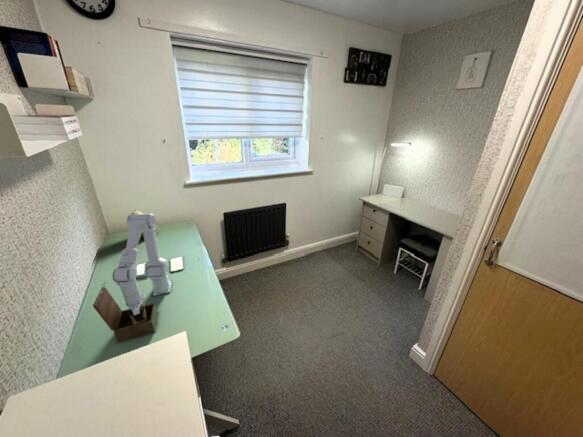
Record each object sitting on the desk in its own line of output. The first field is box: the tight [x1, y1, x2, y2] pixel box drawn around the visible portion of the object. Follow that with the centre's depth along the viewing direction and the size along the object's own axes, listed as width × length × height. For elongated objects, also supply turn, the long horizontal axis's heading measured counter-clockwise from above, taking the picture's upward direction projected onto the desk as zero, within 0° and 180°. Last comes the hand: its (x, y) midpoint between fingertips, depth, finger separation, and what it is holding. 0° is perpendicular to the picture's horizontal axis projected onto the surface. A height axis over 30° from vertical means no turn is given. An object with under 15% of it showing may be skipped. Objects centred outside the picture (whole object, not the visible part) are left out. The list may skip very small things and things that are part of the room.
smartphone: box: [169, 256, 184, 273], centre depth 146 cm, size 7×1×15 cm
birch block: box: [131, 304, 147, 325], centre depth 102 cm, size 5×5×5 cm
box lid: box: [92, 285, 122, 332], centre depth 95 cm, size 14×11×1 cm
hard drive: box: [136, 262, 147, 279], centre depth 139 cm, size 2×8×12 cm
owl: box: [131, 209, 159, 240], centre depth 175 cm, size 13×13×20 cm
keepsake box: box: [113, 302, 159, 343], centre depth 102 cm, size 13×11×6 cm
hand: (139, 316), depth 102 cm, fingers closed on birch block, 5 cm apart
